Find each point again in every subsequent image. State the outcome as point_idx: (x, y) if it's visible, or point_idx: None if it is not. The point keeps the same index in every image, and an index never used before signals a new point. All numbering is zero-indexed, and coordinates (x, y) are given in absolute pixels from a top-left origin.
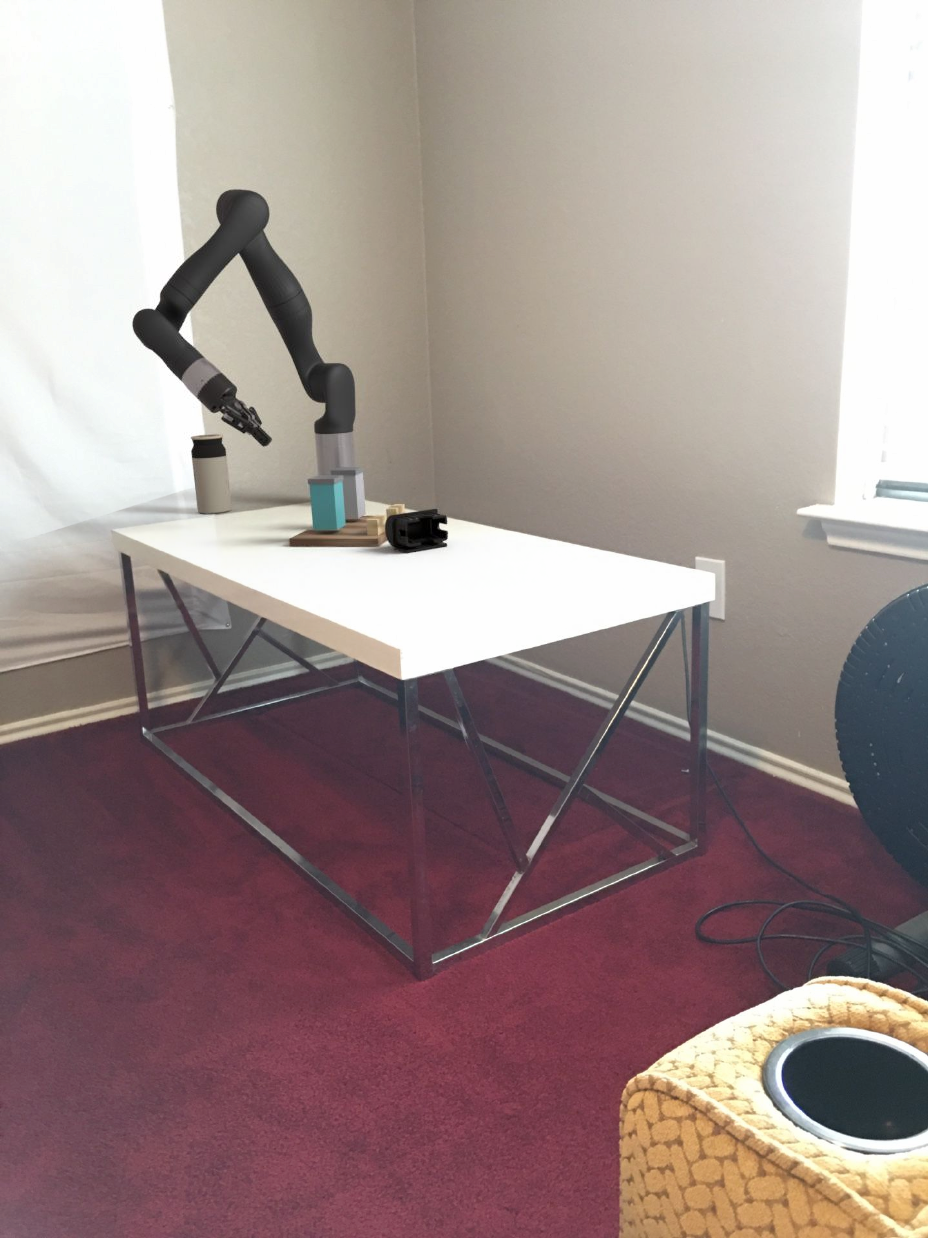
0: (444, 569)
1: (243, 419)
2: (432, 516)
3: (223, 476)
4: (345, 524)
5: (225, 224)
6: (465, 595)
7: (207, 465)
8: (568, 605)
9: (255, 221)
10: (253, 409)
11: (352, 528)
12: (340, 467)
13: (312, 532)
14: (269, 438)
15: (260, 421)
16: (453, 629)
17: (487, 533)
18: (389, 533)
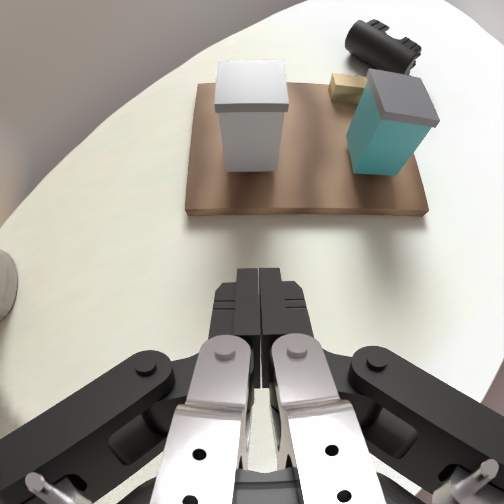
0: (447, 54)
1: (425, 396)
2: (387, 27)
3: None
4: (346, 134)
5: None
6: (490, 54)
7: None
8: (474, 23)
9: None
10: (2, 463)
11: (327, 134)
12: (224, 99)
13: (374, 188)
14: (268, 269)
15: (151, 359)
16: None
17: (284, 23)
18: (406, 73)
